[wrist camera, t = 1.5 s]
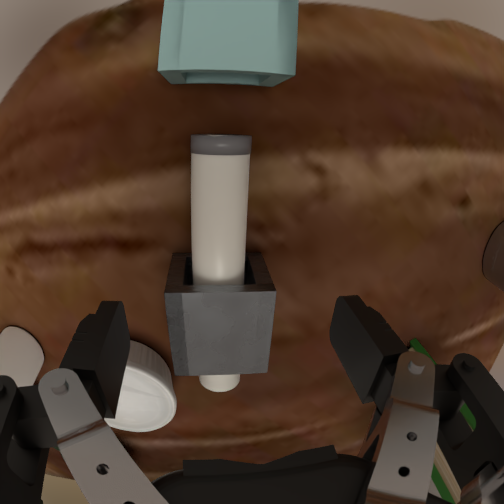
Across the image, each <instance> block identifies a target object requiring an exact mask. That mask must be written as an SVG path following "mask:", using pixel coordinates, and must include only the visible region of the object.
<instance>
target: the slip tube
mask: <svg viewBox="0 0 504 504" xmlns="http://www.w3.org/2000/svg"><path fill="white" fill-rule="evenodd" d="M251 143H252V136H249V135H236V134H193V135H191V238H192V271H193V285H244V269H245V248H246V227H247V206H248V186H249V167H250V154H251ZM199 380H200V382H201V384H202V385H203V386H204V387H205V388H207V389H209V390H211V391H215V392H224V391H228V390H231V389H233V388H234V387H235V386H236V385H237V384H238V383H239V380H240V374H233V375H199Z"/></svg>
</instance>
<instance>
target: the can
mask: <svg viewBox="0 0 504 504" xmlns="http://www.w3.org/2000/svg"><path fill="white" fill-rule="evenodd" d="M43 362H44V355H43V351H42V348H41V346H40V344H39V343H38V342H37V340H36V339H35V338H34V337H33V336H32V335H31V334H30V333H28V332H27V331H25V330H24V329H21V328H19V327H7V328H5V329H4V330H3V331H2V333H1V334H0V375H6V376H9V377H11V378H12V379H13V380H14V381H15V383H16V385H17V386H18V387H23V386H32V385H33V384H34V382H35V379H36V377H37V375H38V373H39V371H40V369H41V367H42V364H43Z"/></svg>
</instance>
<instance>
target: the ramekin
mask: <svg viewBox="0 0 504 504" xmlns="http://www.w3.org/2000/svg"><path fill="white" fill-rule="evenodd" d="M176 405H177V401H176V396H175V393H174V390H173V385H172V378H171V373H170V370H169V368H168V366H167V364H166V363H165V361H164V360H163V359H162V358H161V356H160V355H158V354H157V353H156V352H155V351H154V350H152V349H151V348H149V347H147V346H145V345H143V344H141V343H139V342H135V341H132V340H130V352H129V356H128V360H127V364H126V369H125V373H124V377H123V382H122V386H121V391H120V396H119V401H118V406H117V411H116V416H115V419H109V418H104V420H105V421H106V422H107V424H108V425H109V426H111V427H114V428H117V429H121V430H127V431H134V432H146V431H151V430H155V429H158V428H161V427H163V426H164V425H166V424H167V423H169V422H170V421H171V420H172V418H173V417H174V415H175V412H176Z"/></svg>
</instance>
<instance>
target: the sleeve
mask: <svg viewBox="0 0 504 504" xmlns="http://www.w3.org/2000/svg"><path fill="white" fill-rule="evenodd" d="M164 296H165V305H166V314H167V323H168V331H169V338H170V346H171V353H172V359H173V366H174V372H175V376H196V375H233V374H252V373H266V372H267V369H268V361H269V353H270V344H271V336H272V327H273V318H274V309H275V299H276V289H275V286H274V284H273V281H272V279H271V276H270V274H269V271H268V269H267V266H266V264H265V261H264V259H263V256H262V254H261V253H245V269H244V285H193V271H192V253H173V255H172V259H171V264H170V268H169V273H168V277H167V282H166V287H165V292H164Z"/></svg>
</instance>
